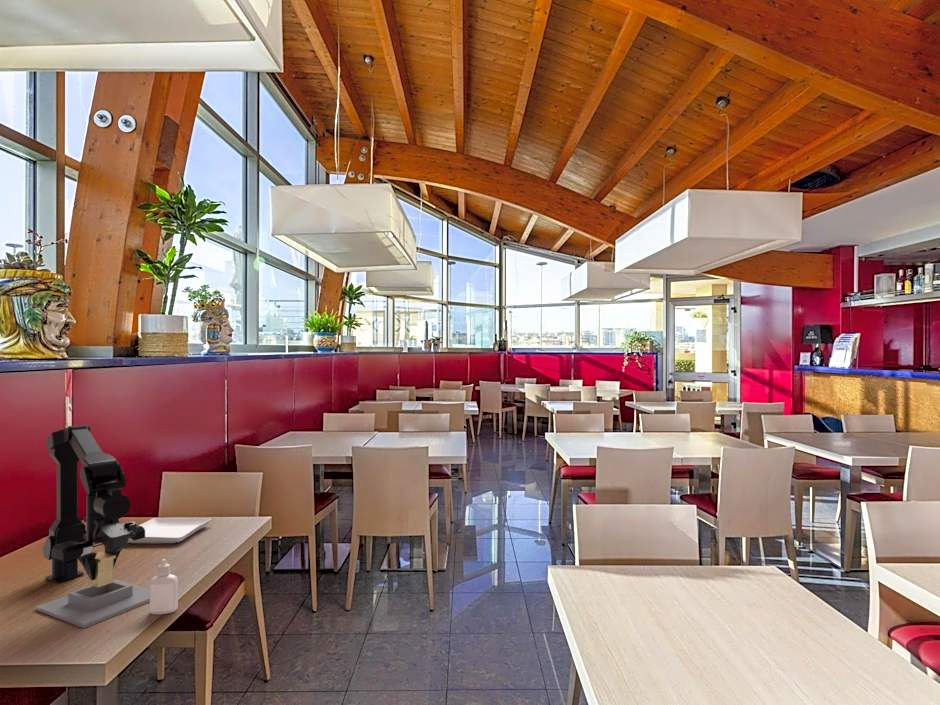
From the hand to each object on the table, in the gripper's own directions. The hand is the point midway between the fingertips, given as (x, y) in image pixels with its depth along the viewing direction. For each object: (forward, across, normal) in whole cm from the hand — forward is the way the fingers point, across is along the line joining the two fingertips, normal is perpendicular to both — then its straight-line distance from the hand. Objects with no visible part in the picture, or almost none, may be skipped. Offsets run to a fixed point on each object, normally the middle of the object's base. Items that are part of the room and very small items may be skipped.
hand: (100, 577), depth 133 cm
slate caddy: (+6, 0, 0) cm, 6 cm away
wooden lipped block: (+2, 0, 0) cm, 2 cm away
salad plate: (+7, +40, +35) cm, 54 cm away
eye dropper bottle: (+6, +4, -18) cm, 20 cm away
